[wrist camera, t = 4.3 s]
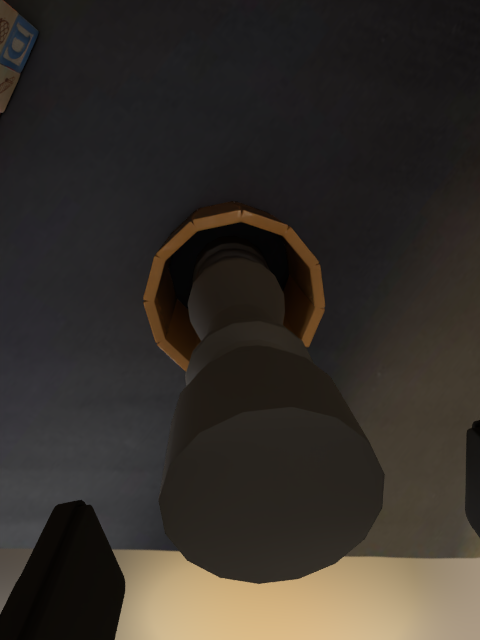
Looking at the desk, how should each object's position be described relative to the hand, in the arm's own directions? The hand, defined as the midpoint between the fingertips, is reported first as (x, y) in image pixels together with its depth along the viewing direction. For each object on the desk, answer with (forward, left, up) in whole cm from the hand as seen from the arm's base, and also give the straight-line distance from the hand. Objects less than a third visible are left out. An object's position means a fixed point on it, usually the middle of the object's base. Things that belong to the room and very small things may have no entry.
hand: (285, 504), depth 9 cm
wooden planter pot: (0, 0, -25) cm, 25 cm away
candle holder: (0, 0, -25) cm, 25 cm away
